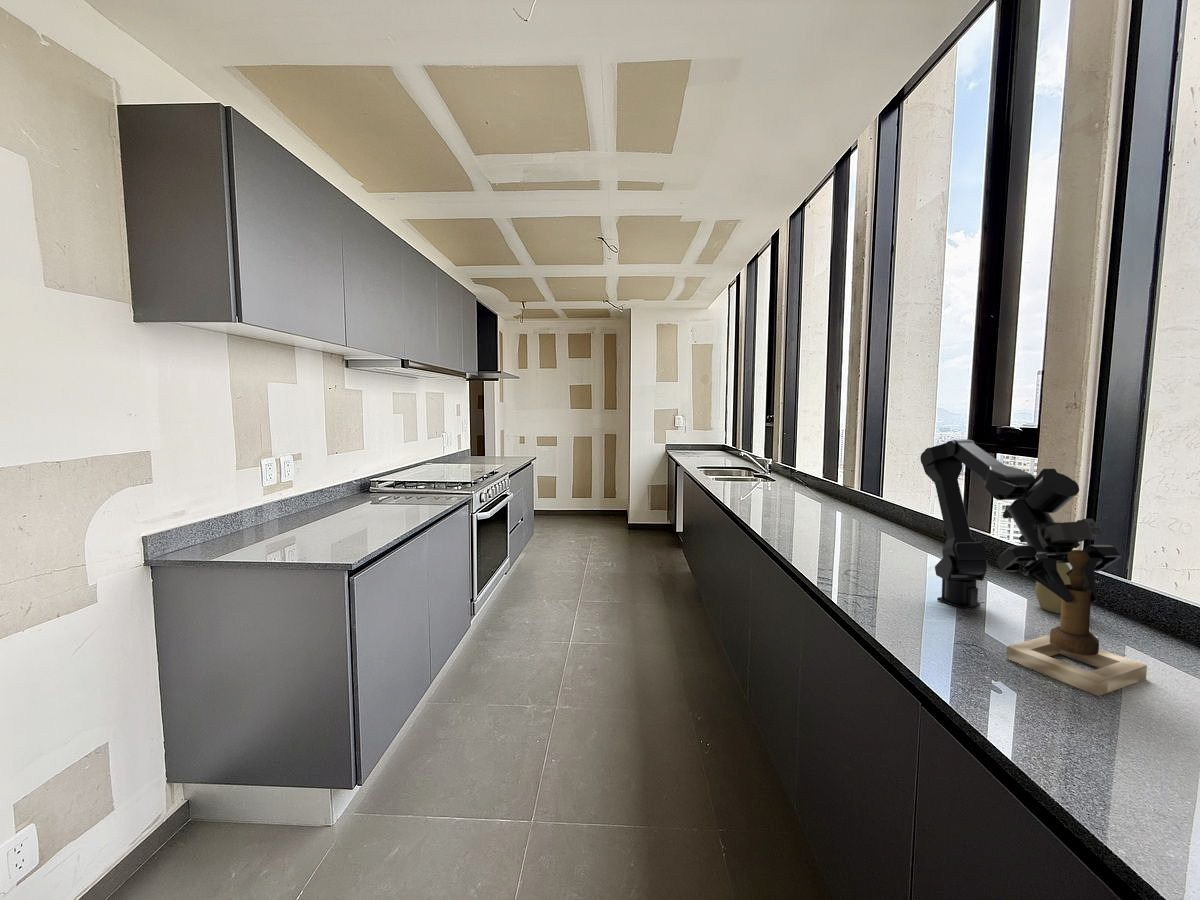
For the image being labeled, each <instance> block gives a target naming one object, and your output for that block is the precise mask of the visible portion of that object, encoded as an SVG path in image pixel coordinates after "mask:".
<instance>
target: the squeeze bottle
mask: <svg viewBox="0 0 1200 900" xmlns="http://www.w3.org/2000/svg"><path fill="white" fill-rule="evenodd" d="M1056 565H1057V571H1058V573H1059V575H1060V577H1061V578H1062V580H1063V582H1064V584H1065V585H1071V582H1070V579H1069V577H1068V575H1067V574H1066V573H1067V572H1068V571H1069V570H1070V568H1069V567H1068V565H1067V564H1066V563H1056ZM1034 593H1035V595H1036V599H1037V601H1038V603H1039V604H1038V605H1039V607H1040V608H1041V609H1043V610H1045V611H1049V612H1051V613H1056V614H1061V603H1062V598H1060V597H1059V596H1058V595H1056V594H1055V593H1053V592H1052V591H1051V590H1049V589H1048V588H1046V587H1045V586H1044V585H1042V584H1041V583H1039V582H1037V581H1036V583H1035V587H1034Z"/></svg>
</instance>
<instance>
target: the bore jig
mask: <svg viewBox="0 0 1200 900" xmlns="http://www.w3.org/2000/svg"><path fill="white" fill-rule="evenodd" d="M1059 654H1060V655H1062V656H1065V657H1068V658H1071V659H1073V660H1077V661H1078V662H1081V663H1084V664H1088V665H1090V666H1093V667H1095V668H1097V669H1093V670H1090V671H1089V670H1086V669H1084V668H1081V667H1078V666H1076V665H1074V664H1070V663H1067V662H1065V661H1062V660H1060V659H1058V658H1054V657H1052V656H1055V655H1059ZM1049 656H1050V657H1049ZM1005 658H1007V659H1006V660H1008V659H1010V660H1012V661H1011V662H1013V661H1015V662H1017V663H1019V664H1018V665H1020V664H1021V665H1020V666H1022V665H1023V667H1025V668H1027V667H1028V668H1027V669H1030V670H1032V669H1033V671H1035V672H1038V673H1040V674H1042V673H1043V675H1045V676H1047V675H1048V676H1047V677H1050V678H1052V679H1055V680H1058V681H1060V682H1063V683H1065V684H1068V685H1070V686H1073V687H1075V688H1078V689H1079V690H1081V691H1082V690H1083V691H1085V692H1086V693H1090V694H1092V695H1095V696H1097V697H1100V696H1102V695H1105V694H1108V693H1111V692H1114V691H1117V690H1119V689H1122V688H1125V687H1128V686H1130V685H1133V684H1136V683H1139V682H1142V681H1144V680H1147V673H1148V672H1147V671H1148V665H1147V664H1145V663H1143V662H1142V663H1141V662H1138V661H1135V660H1133V659H1129V658H1128V657H1127V658H1126V657H1123V656H1120V655H1118V654H1115V653H1111V652H1108V651H1105V650H1103V649H1100V648H1099V652H1098V654H1096V655H1079V654H1074V653H1070V652H1066V651H1063V650H1061V649H1058V648H1056V647H1054V646H1053V645H1052V644H1051V643H1050V634H1047V635H1044V636H1041V637H1036V638H1033V639H1029V640H1025V641H1021V642H1017V643H1015V644H1014V643H1013V644H1011V645H1007V646H1006V657H1005ZM1010 660H1009V661H1010ZM1015 662H1014V663H1015ZM1017 663H1016V664H1017Z"/></svg>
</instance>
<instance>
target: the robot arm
mask: <svg viewBox="0 0 1200 900" xmlns="http://www.w3.org/2000/svg"><path fill="white" fill-rule="evenodd" d="M919 458H920V462H921V464H922V467H923V470H924V474H925V475H926V476H928V478H929V479H930V480H931V481H932V482H933V483H934V486H935V490H936V493H937V494H936V495H937V499H938V504H939V507H940V512H941V516H942V522H943V525H944V531H945V535H946V541H945V544H944V546H943V548H942V551H941V552H942V558H941V559H940V561H939V562H938V563H936V564H935V566H934V571H935V575H936V576H937V577H939V578H941V596H940V597H937V601H940V602H943V603H945V604H947V605H951V606H954V607H957V608H959V609H967V608H971V607H976V606H980V605H981V602H980V601H978V598H979V596H978V594H979V588H978V587H977V581H984V579H985V576H986V573H987V569H988V567H989V562H988V560H989V558H988V556H987V554H986V550H985V548H986V547H985V545H984V543H983V542H980V541H978V542H977V540H975V539H974V537H972V533H971V530H970V529H971V528H970V525H969V521H968V517H967V512H966V509H965V505H964V501H963V497H962V496H963V495H962V491H961V487H960V483H959V477H960V474H961V472H962V471H963V465H964V466H966V467H967V468H968V469H969V470H971V471H972V472H974V473H975V474H976V475H977V476H979V477H980V478H981V479H982V480H983V481H984V488H985V490H986V491H987V492H988V493H989V494H990V495H991V496H992V497H993V498H994V500H997V501H1013V502H1011V504H1010V505H1009V504H1007V505H1005V510H1004V511H1003V512H1002V518H1003V519H1013V522H1014V523H1015V525H1016V526H1017V529H1018V530H1019V532H1020V533H1021V535H1020V536H1019V537H1018V540H1019V541H1020V543H1026V544H1027V545H1026V544H1025V545H1009V546H1008V547H1007V548H1006V549H1005V550H1004V551H1002V553H1000V554H999V555H998V556H997V559H996V564H997V565H998V568H999V570H1000V572H1003V573H1004V572H1005V573H1009V572H1010V573H1013V572H1014V573H1015V572H1018V571H1019V569H1020V564H1023V565H1024V568H1025V570H1023V571H1022V575H1023V576H1028V577H1030V578H1031V579H1033V581H1036V582H1039V583H1041V584H1042V585H1044V586H1045V587H1046V588H1048V589H1049V590H1051V591H1052V592H1053V593H1055V594H1056V595H1058V596H1059V597H1060V598H1062V599H1063V600H1064V601H1066V602H1071V601H1072V597H1071V595H1070V593H1069V591H1068V589H1067V587H1066V585H1065V584H1064V582H1063V580H1062V578H1061V577H1060V575H1059V573H1058V571H1057V565H1056V563H1066V564H1067V565H1068V567H1069V568H1070V570H1069V571H1068V572H1067V573H1066V574H1067V575H1068V577H1069V573H1071V572H1072V566H1071V564H1070V563H1069V561H1068V558H1067V556H1068V553H1069V552H1070V551H1072V550H1074V549H1077V548H1078V547H1080V546H1081V544H1080V542H1086V541H1094V540H1095V537H1099V536H1100V535H1101V529H1100V526H1099V524H1098V523H1097V522H1096V521H1095V520H1094V518H1082V519H1079V520H1076V521H1065V522H1055V520H1054V519H1053V517H1052V516H1051V514H1053V513H1057V512H1059V511H1060V510H1062V508H1064V506H1066V505H1067V503H1069V502H1070V501H1072V500H1073V498H1075V497H1076V496H1077V495H1078V494H1079V492H1080V485H1079V484H1078V482H1076V481H1075V480H1073V479H1072V478H1071V477H1069V476H1067V475H1065V474H1063V473H1061V472H1057V470H1056V469H1055V467H1054V468H1042V469H1041V471H1039V474H1038V475H1037V476H1036V477H1035V476H1034V475H1033V474H1032V473H1029V471H1025V470H1023V469H1021V468H1017V467H1013V466H1008V465H1006V464H1003V463H1002V462H1000V461H999V460H998V459H997V458H995V457H994V456H992V455H991V454H990V453H988V452H986V450H984V449H982V448H981V447H980V446H978V445H977V444H976V442H975V441H974V440H972V439H969V438H968V439H951V440H948V441H947V442H945V443H941V444H938V445H935V446H932V447H926V449H924V451H923V452H922V453H921V454H920V457H919ZM1082 551H1085V552H1087V553H1088V555H1089V556H1090V562H1089V564H1088V565H1087V566H1086V567H1085V568H1084V570H1083V574H1084V575H1085V576H1086V579H1085V581H1084V584H1083V586H1084V587H1087V588H1090V589H1091V590H1092V592H1091V603H1095V602H1097V601H1098V593H1097V587H1096V586H1097V584H1096V579H1095V572H1099V571H1103V570H1105V569H1106V568H1108V567H1109V566H1111V565H1112V564H1113V563H1115V562H1117V561H1118V560H1119V559H1121V558H1122V556H1121V554H1120V553H1119V551H1118V550H1117V549H1116V547H1115V546H1113V545H1110V544H1089V545H1088V546H1086V547H1084V548H1083V549H1082Z"/></svg>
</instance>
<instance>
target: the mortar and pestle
mask: <svg viewBox="0 0 1200 900" xmlns="http://www.w3.org/2000/svg"><path fill="white" fill-rule="evenodd" d="M1082 550H1083V549H1082ZM1082 550H1081V549H1072V551H1070V552H1069V553H1068V556H1067V558H1068V561H1069V563H1070V564H1071V566H1072V572H1071V573H1069V579H1070V582H1071V585H1066V587H1067V589H1068V591H1069V593H1070V595H1071V597H1072V601H1071V602H1066V601H1064V600H1063V599H1062V603H1061V613H1060V623H1059V625H1058V626H1055V627H1053V628H1051V629H1050V632H1049V635H1050V643H1051V644H1052V645H1053V646H1054V647H1056V648H1058V649H1061V650H1063V651H1066V652H1070V653H1074V654H1079V655H1096V654H1098V652H1099V649H1100V641H1099V639H1098V637H1096V636H1095V635H1094V634H1093V633H1092V632H1091V631H1090V625H1091V624H1090V621H1091V604H1092V602H1091V592H1092V590H1091V589H1090V588H1087V587H1084V586H1083V584H1084V581H1085V579H1086V576H1085V575H1084V574H1083V570H1084V568H1085V567H1086V566H1087V565H1088V564H1089V562H1090V556H1089V555H1088V553H1087V552H1085V551H1082Z"/></svg>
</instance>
